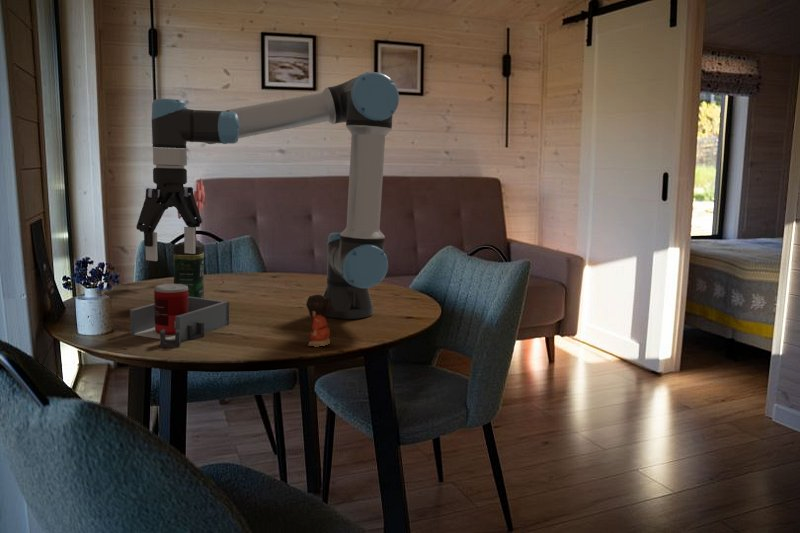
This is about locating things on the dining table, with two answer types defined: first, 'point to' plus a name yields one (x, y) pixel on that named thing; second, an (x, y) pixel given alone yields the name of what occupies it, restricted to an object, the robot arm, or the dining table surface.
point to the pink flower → (199, 199)
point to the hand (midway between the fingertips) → (171, 256)
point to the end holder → (182, 318)
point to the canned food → (169, 306)
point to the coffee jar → (190, 269)
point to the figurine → (319, 319)
